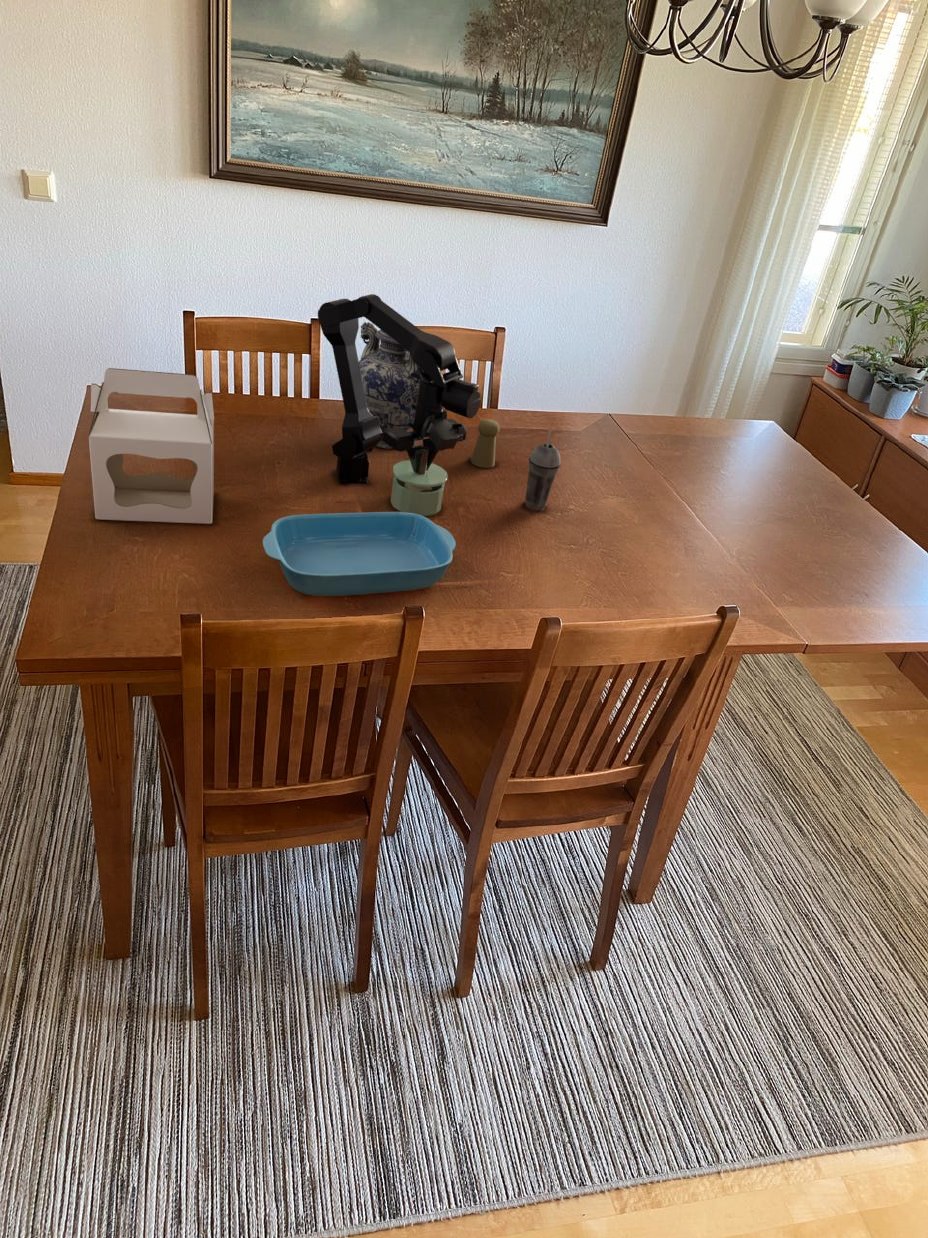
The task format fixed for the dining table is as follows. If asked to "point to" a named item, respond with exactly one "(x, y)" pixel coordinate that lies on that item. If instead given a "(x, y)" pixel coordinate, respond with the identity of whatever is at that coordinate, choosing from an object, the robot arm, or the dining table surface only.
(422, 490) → the block
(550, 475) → the beverage cup
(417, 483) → the lid
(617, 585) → the dining table surface
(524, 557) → the dining table surface
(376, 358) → the decorative vase
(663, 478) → the dining table surface
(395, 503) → the pot
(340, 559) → the casserole dish
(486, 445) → the pepper mill
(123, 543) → the dining table surface
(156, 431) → the gable box
